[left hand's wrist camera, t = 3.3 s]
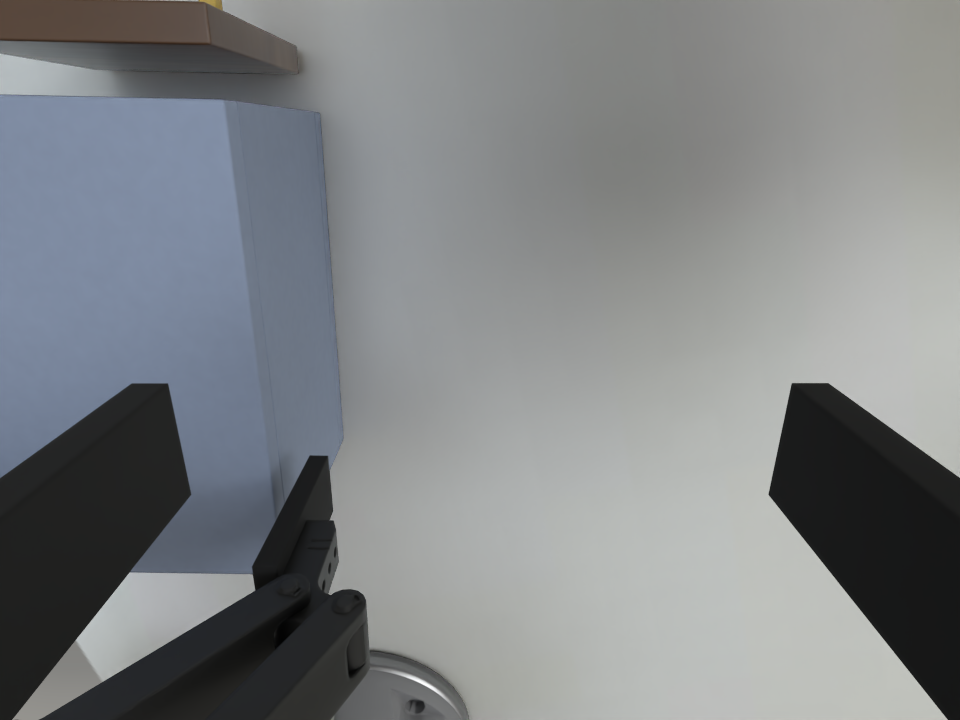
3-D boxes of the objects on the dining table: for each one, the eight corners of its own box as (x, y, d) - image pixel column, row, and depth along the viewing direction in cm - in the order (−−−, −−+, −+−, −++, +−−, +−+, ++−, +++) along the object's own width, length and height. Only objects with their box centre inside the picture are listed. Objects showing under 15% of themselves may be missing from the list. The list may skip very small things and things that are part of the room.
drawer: (62, -98, 25) (-172, -228, 16) (285, -92, 25) (177, -218, 16) (155, 379, 33) (33, 471, 24) (324, 382, 33) (266, 475, 24)
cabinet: (103, 107, 29) (-127, 91, 18) (320, 112, 29) (224, 98, 18) (167, 436, 36) (26, 571, 25) (343, 439, 36) (283, 575, 25)
